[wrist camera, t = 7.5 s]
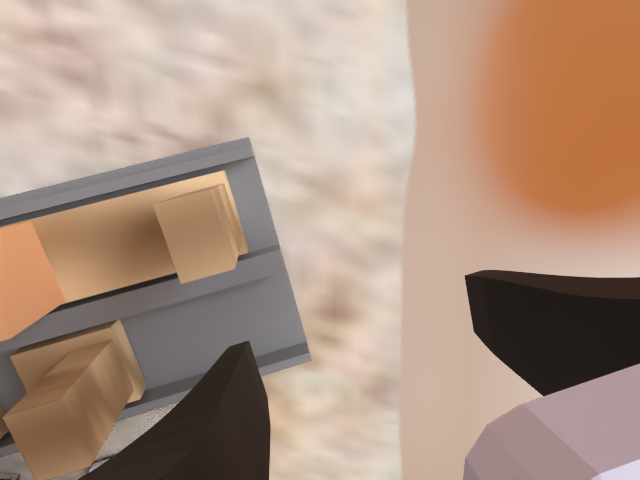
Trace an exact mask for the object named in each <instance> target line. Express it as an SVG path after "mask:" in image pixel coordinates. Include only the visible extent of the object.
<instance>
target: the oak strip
mask: <svg viewBox="0 0 640 480" xmlns="http://www.w3.org/2000/svg"><path fill="white" fill-rule="evenodd" d="M27 222H32V224H33V227H34V229H35V231H36V234H37V236H38V238H39V241H40V243H41V245H42V247H43V250H44V252H45V254H46V257H47V259H48V261H49V263H50V266H51V268H52V270H53V273H54V275H55V277H56V280H57V282H58V284H59V286H60V289H61V291H62V293H63V296H64V298H65V300H66V301H65V302H64V303H68V302H72V301H75V300H79V299H82V298H86V297H90V296H93V295H97V294H100V293H104V292H108V291H111V290H115V289H119V288H122V287H126V286H129V285H133V284H137V283H140V282H144V281H147V280H151V279H155V278H158V277H162V276H165V275H169V274H173V273H176V272H177V274H178V277H179V280H180V283H181V284H183V283H186V282H190V281H194V280H197V279H201V278H204V277H208V276H211V275H215V274H219V273H222V272H226V271H229V270H233V269H235V267H236V263H237V259H238V256H239V255H241V254H245V253H248V245H247V241H246V238H245V235H244V231H243V228H242V225H241V221H240V218H239V215H238V212H237V208H236V205H235V202H234V198H233V195H232V192H231V188H230V185H229V182H228V178H227V175H226V172H225V170H223V171H219V172H215V173H211V174H207V175H203V176H199V177H195V178H191V179H187V180H183V181H179V182H175V183H172V184H168V185H164V186H160V187H156V188H152V189H148V190H144V191H140V192H136V193H132V194H128V195H124V196H120V197H116V198H112V199H108V200H104V201H101V202H97V203H93V204H89V205H85V206H81V207H77V208H73V209H69V210H65V211H61V212H57V213H53V214H49V215H45V216H41V217H37V218H33V219H29V220H26V221H22V222H18V223H14V224H10V225H6V226H2V227H0V229H1V228H5V227H10V226H14V225H18V224H22V223H27ZM64 303H62V304H64Z"/></svg>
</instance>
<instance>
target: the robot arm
mask: <svg viewBox="0 0 640 480" xmlns="http://www.w3.org/2000/svg"><path fill="white" fill-rule="evenodd" d="M465 280H466V286H467V293H468V299H469V304H470V311H471V316H472V322H473V329H474V332H475V333H476V335H477V336H478V337H479V338H480V339H481V341H482V342H483V343H484V344H485V345H486V346H487V347H488V348H489V349H490V351H491V352H492V353H493V354H494V355H496V356H497V357H498V358H499V359H500V360H501V361H502V362H503V363H505V364H506V365H507V366H508V367H509V368H511V369H512V370H513V371H514V372H515V373H516V374H518V375H519V376H520V377H521V378H522V379H524V380H525V381H526V382H527V383H528V384H530V385H531V386H532V387H533V388H534V389H535V390H537V391H538V392H539V393H540V394H542V395H543V396H544V397H541V398H538V399H535V400H532V401H529V402H527V403H523V404H521V405H518V406H516V407H515V408H513V409H512V410H510V411H508V412H507V413H505V414H503V415H502V416H500V417H498V418H497V419H495V420H494V421H492V422H490V423H489V424H487V426H486V428H485V429H484V430H483V432H482V433H481V435H480V436H479V438H478V439H477V441H476V442H475V444H474V445H473V446H472V448H471V450H470V451H469V453H468V454H467V456H466V458H465V466H464V476H463V480H640V277H637V278H589V277H572V276H557V275H545V274H535V273H525V272H513V271H500V270H483V271H479V272H475V273H472V274H469V275H465ZM269 460H270V417H269V407H268V398H267V394H266V391H265V388H264V385H263V382H262V379H261V376H260V373H259V370H258V366H257V363H256V360H255V357H254V354H253V351H252V348H251V345H250V342H249V341H245V342H242V343H239V344H235V345H232V346H229V347H228V348H227V349H226V350H225V351H224V353H223V354H222V355H221V356H220V357H219V359H218V360H217V361H216V362H215V363H214V365H213V366H212V367H211V368H210V369H209V370H208V372H207V373H206V374H205V375H204V376H203V378H202V379H201V380H200V381H199V382H198V383H197V384H196V385H195V386H194V387H193V388H192V390H191V391H190V392H189V393H188V394H187V395H186V396H185V397H184V398H183V399H182V400H181V401H180V402H179V403H178V404H177V405H176V406H175V407H174V408H173V409H172V410H171V411H170V412H169V413H168V414H167V415H165V416H164V417H163V418H162V419H161V420H160V421H159V422H158V423H156V424H155V425H154V426H153V427H152V428H150V429H149V430H148V431H147V432H145V433H144V434H143V435H141V436H140V437H139V438H138V439H136V440H135V441H134V442H132V443H131V444H130V445H128V446H127V447H126V448H124V449H123V450H122V451H120V452H119V453H118V454H116V455H115V456H113V457H112V458H109V459H106V460H103V461H100V462H97V463H95V464H93V465H92V466H91V468H90V469H89V471H88V474H86V475H84V476H83V477H81V478H80V479H78V480H269Z"/></svg>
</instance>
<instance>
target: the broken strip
mask: <svg viewBox="0 0 640 480" xmlns="http://www.w3.org/2000/svg"><path fill="white" fill-rule="evenodd" d="M10 358H11V360H12V362H13V364H14V366H15V368H16V370H17V372H18V374H19V376H20V378H21V380H22V382H23V384H24V386H25V389H26V391H27V394H26V395H25V396H24V397H23V398H22V399H21V400H20V401H19V402H18V403H17V404H16V405H15V406H14V407H13V408H12V409H11V410H10V411H9V412H8V413H7V414H6V415H5V413H4V411H3V409H2V407H1V406H0V439H1V438H2V437H3V436H4V435H5V434H6V433H7V432H8V431H10V433H11V435H12V437H13V439H14V440H15V442H16V444H17V446H18V448H19V450H20V452H21V454H22V456H23V458H24V460H25V462H26V464H27V465H28V467H29V469H30V471H31V473H32V475H33V477H34V479H35V480H49V479H52V478H55V477H58V476H61V475H64V474H68V473H71V472H74V471H77V470H80V469H83V468H86V467H89V466H91V464H92V462H93V461H94V459H95V457H96V455H97V454H98V452H99V450H100V448H101V447H102V445H103V443H104V441H105V440H106V438H107V436H108V435H109V433H110V431H111V429H112V428H113V426H114V424H115V422H116V421H117V419H118V417H119V415H120V414H121V412H122V410H123V408H124V407H125V405H126V404H127V403H130V402H133V401H136V400H140V399H141V397H142V395H143V393H144V391H145V389H146V387H147V385H146V382H145V380H144V377H143V375H142V372H141V370H140V368H139V365H138V363H137V360H136V358H135V355H134V353H133V350H132V348H131V345H130V343H129V340H128V338H127V335H126V333H125V330H124V328H123V326H122V323H121V321H120V319H118V320H114V321H111V322H107V323H104V324H100V325H97V326H93V327H90V328H86V329H83V330H79V331H76V332H72V333H68V334H65V335H61V336H58V337H54V338H51V339H47V340H44V341H40V342H37V343H33V344H30V345H26V346H23V347H22V348H20V349H19V350H18V351H16V352H15V353H14V354H12V355H11V356H10Z"/></svg>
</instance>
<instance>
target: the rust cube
mask: <svg viewBox="0 0 640 480" xmlns="http://www.w3.org/2000/svg"><path fill="white" fill-rule="evenodd" d="M65 301H66V300H65V298H64V296H63V293H62V291H61V289H60V286H59V284H58V282H57V280H56V277H55V275H54V273H53V270H52V268H51V266H50V263H49V261H48V259H47V257H46V254H45V252H44V250H43V247H42V245H41V243H40V241H39V238H38V236H37V234H36V231H35V229H34V227H33V224H32V222H27V223H22V224H18V225H14V226H10V227H5V228H1V229H0V341H4V340H7V339H11V338H12V337H14V336H15V335H17V334H18V333H20V332H21V331H23V330H24V329H26V328H27V327H28V326H30V325H31V324H33V323H34V322H36V321H37V320H39V319H40V318H42V317H43V316H45V315H46V314H47V313H49V312H50V311H52V310H53V309H55V308H56V307H58V306H59V305H61V304H62V303H64V302H65Z"/></svg>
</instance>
